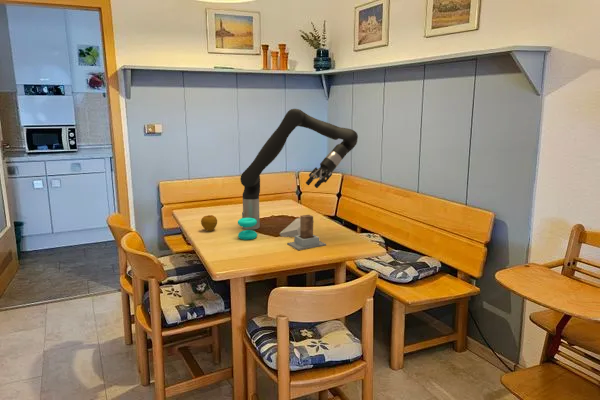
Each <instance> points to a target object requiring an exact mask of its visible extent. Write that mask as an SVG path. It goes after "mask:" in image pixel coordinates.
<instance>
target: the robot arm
mask: <svg viewBox="0 0 600 400" xmlns="http://www.w3.org/2000/svg"><path fill="white" fill-rule="evenodd" d="M297 127H301V128H306V129H309V130H311V131H313V132H316V133H317V134H320V135H322V136H323V137H325V138H329V139H331V140H334V141H337V140H342V141H341V142H340V143H338V144H336V145H335V146H334V148H333V149H332V150H331V151H330V152H329V153H328V154H327V155H326V156H325V157H324V158H323V160H322V161H321V162H320V163H319V166H320V167H316V166H315V167H314V168H313V170H311V171H310V173H309V174H308V177H309V178H308V179H307V180H306V182H305V184H306V185H307V186H310V185H311V184H312V182H313V181H314V180H315V179H317V181H316V182H315V183H314V185H313V186H314V187H315V188H316V189H318V188H319V187H320V186H321V185H322V184H324V183H327V182H328V180H329V179H330V178H331V176H332V175H333V172H334V171H335V169H336V168H337V167H338V166H339V165H340V163H341V162H342V160H343V159H344V158H345V157H346V155H347V154H349V153H350V152H351V151H352V150H353V149H354V148H355V146H356V145H357V143H358V139H359V136H358V133H357V131H355V130H354V129H351V128H347V127H342V126H341V127H340V126H337V125H334V124H332V123H329V122H327V121H324V120H320V119H317V118H316V117H313V116H311V115H309V114H307V113H306V112H305V111H303V110H301V109H299V108H290V109H289V110H288V111H287V112H286V114H285V115H284V117H283V119H282V120H281V122H280V123H279V125H278V126H277V128H276V129H275V130H274V132H273V133H272V134H271V135H270V137H269V138H268V139H267V141H265V143H264V145H262V147H261V149H260V150H259V151H258V153H257V154H256V156H255V158H254V159H253V161H252V162H251V163H250V165H248V167H247V168H246V169H245V170H244V171H243V172H242V173H241V175H240V177H239V178H240V179H239V180H240V183H241V185H242V186H243V188H244V189H243V192H242V212H241V218H254V219H256V220H257V224H256V225H255V226H253V227H242V230H253V231H254V230H258V229H260V193H261V176H260V175H261V174H262V172H263V171H264V170H265V169H266V168H267V167H268V166H269V165H270V164H271V163H272V162H274V160H276V158H277V157H278V156H279V154H280V153H281V151H282V150H283V148H284V147H285V144H286V143H287V139H288V138H289V136H290V135H291V133H292V132H293V131H294V130H295V129H296V128H297Z"/></svg>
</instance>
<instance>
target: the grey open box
mask: <svg viewBox="0 0 600 400" xmlns="http://www.w3.org/2000/svg"><path fill="white" fill-rule="evenodd" d="M293 239H294V241H291V242H287V245H288V246H289V247H291V248H293V249H295V250H297V251H301V250H306V249H307V250H308V249H313V248H314V249H315V248H319V247H320V248H321V247H325V246H327V243H325V242H323V241H321V240H320V236H317V235H315V234H313V238H308V239H302V238H300V235H297V236H294V237H293Z"/></svg>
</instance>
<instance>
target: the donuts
mask: <svg viewBox="0 0 600 400" xmlns="http://www.w3.org/2000/svg"><path fill="white" fill-rule="evenodd" d="M256 224H257V220H256V219H254V218H242V217H241V218H239V219H238V220H237V225H238V226H240V227H253V226H255V225H256ZM237 237H238V239H240V240H244V241H246V240H247V241H248V240H249V241H250V240H254V239H256V238H257V237H258V233H257V232H256V230H254V229H253V230H248V229H242V230H241V231H239V232H238V233H237Z"/></svg>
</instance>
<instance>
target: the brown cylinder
mask: <svg viewBox="0 0 600 400" xmlns="http://www.w3.org/2000/svg"><path fill="white" fill-rule="evenodd" d="M299 218H300V238H302V239H308V238H313V235H314V222H313V221H314V215H312V216H311V214H303V215H300V217H299Z"/></svg>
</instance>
